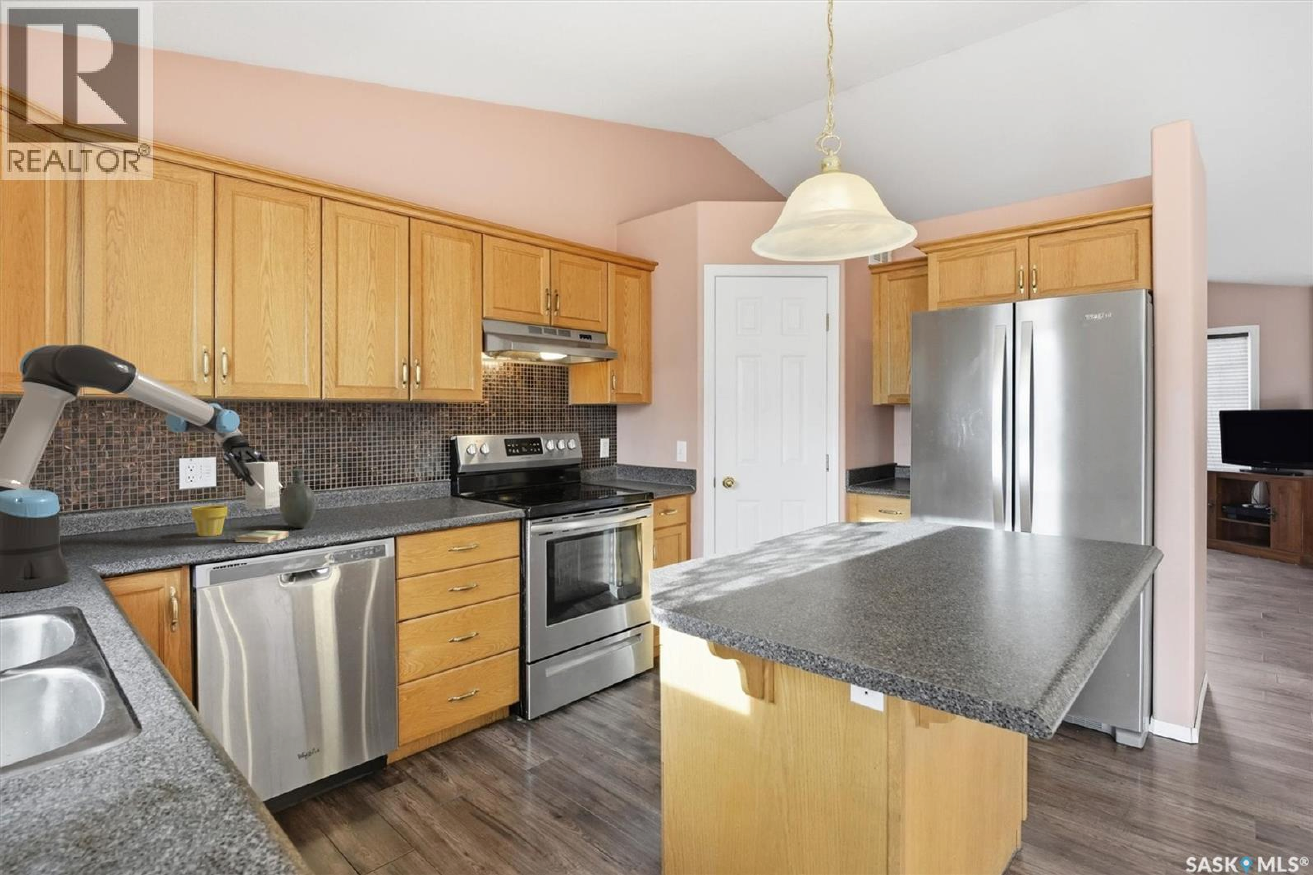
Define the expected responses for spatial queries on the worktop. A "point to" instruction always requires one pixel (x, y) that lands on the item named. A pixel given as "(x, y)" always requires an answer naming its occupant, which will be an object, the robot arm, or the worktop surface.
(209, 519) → the plant pot
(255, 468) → the skincare box
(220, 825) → the worktop surface
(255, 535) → the birch board
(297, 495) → the flask
